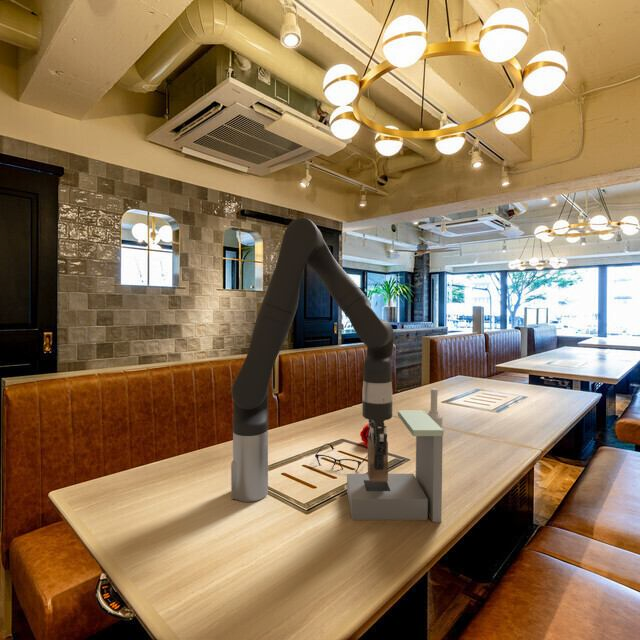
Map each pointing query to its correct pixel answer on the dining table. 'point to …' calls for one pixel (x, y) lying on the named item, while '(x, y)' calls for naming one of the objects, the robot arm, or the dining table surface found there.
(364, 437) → the flower
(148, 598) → the dining table surface
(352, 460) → the eyeglasses
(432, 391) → the bottle
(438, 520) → the panel
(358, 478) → the socket
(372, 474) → the peg
